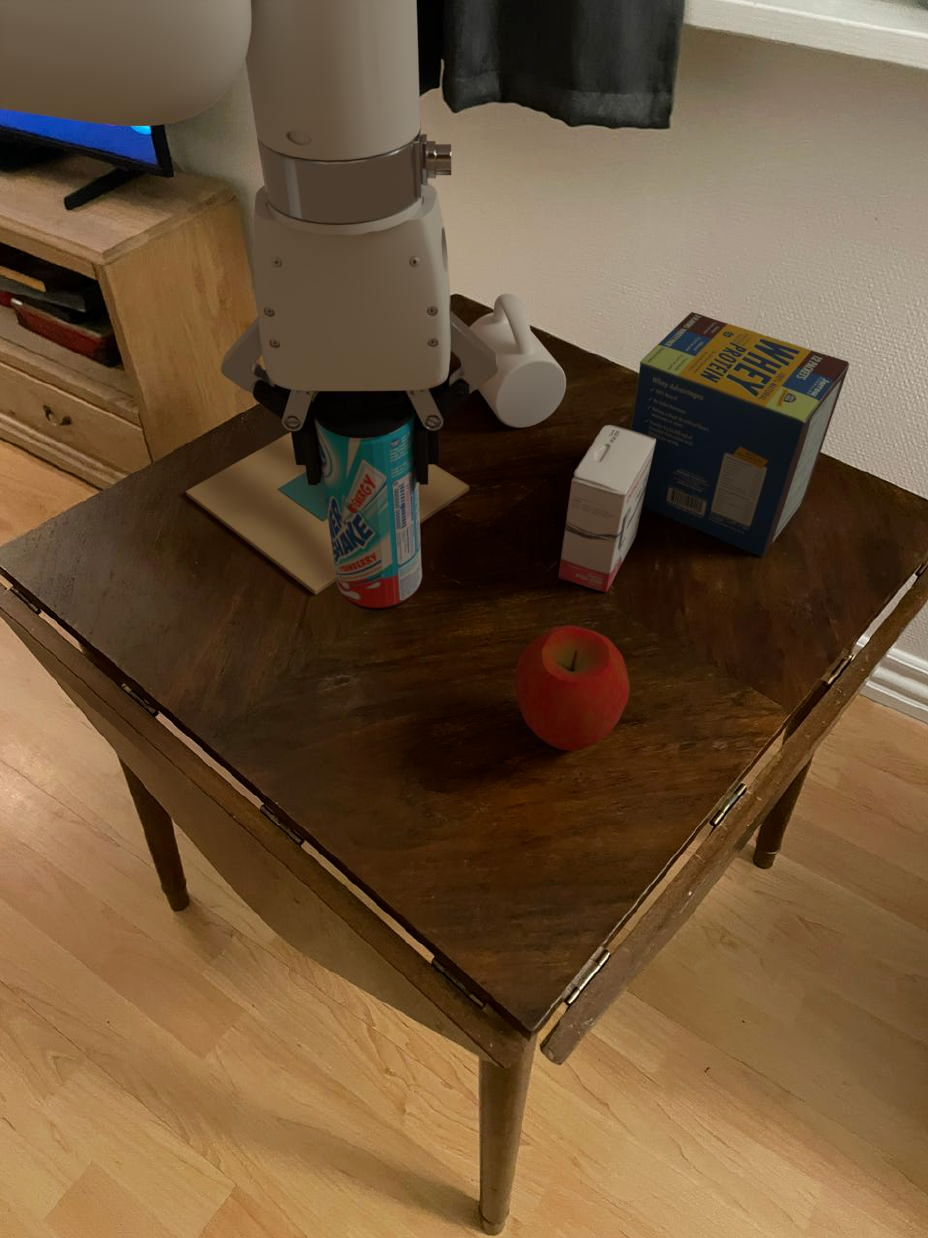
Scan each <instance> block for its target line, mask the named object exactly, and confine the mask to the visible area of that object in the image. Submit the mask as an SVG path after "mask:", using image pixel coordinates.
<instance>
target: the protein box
mask: <svg viewBox="0 0 928 1238" xmlns="http://www.w3.org/2000/svg"><path fill="white" fill-rule="evenodd" d="M849 368H850V362H849V361H848V360H844V359H841V358H839V357H835V356H832V355H829V354H825V353H822V352H818V351H815V350H812V349H810V348H806V347H803V346H799V345H797V344H794V343H791V342H787V341H785V340H781V339H779V338H778V339H777V338H774V337H771V336H769V335H765V334H762V333H760V332H757V331H754V330H750V329H746V328H743V327H740V326H738V325H734V324H731V323H728V322H724V321H720V320H717V319H714V318H712V317H709V316H706V315H703V314H700V313H697V312H694V311H691V312H690V313H689V314H687V315H686V317H685V318H684V319H683V320H682V321H680V322H679V323H678V324H677V325H676V327H674V328H673V329H672V330H671V331H670V332H669V333H668V334H667V335H666V336H665V337H664V338H663V339H662V340H661V341H660V342H658V344H657V345H655V347H654V348H653V349H651V351H650V352H648V353H647V354H646V355H645V356H644V357H643V358H642V359H641V360H640V361H639V370H638V377H637V383H636V391H635V398H634V403H633V404H634V405H633V412H632V418H631V425H630V430H631V431H635V432H638V433H641V434H644V435H647V436H650V437H653V438H655V439H656V443H655V447H654V452H653V456H652V461H651V466H650V471H649V475H648V480H647V485H646V489H645V494H644V499H643V503H642V508H645V509H647V510H650V511H652V512H654V513H657V514H659V515H661V516H664V517H666V518H669V519H671V520H673V521H676V522H678V523H680V524H684V525H685V526H687V527H689V528H692V529H694V530H696V531H699V532H701V533H703V534H706V535H708V536H711V537H713V538H716V539H718V540H720V541H723V542H724V543H727V544H729V545H732V546H734V547H737V548H739V549H741V550H744V551H746V552H748V553H750V554H753V555H755V556H757V557H761V558H762V557H764V556H765V555H766V554H767V552H768V551H769V550H770V548H771V546H772V545H773V544H774V542H775V541H776V540H777V539H778V537H779V536H780V535H781V533H782V532H783V530H784V529H785V528H786V526H787V525H788V523H789V522H790V520H791V519H792V518H793V516H795V513H797V511H798V509H799V508H800V507H801V505H802V504H803V502H804V501H805V500H806V497H807V495H808V492H809V489H810V485H811V482H812V479H813V476H814V473H815V469H816V467H817V464H818V460H819V458H820V455H821V451H822V449H823V445H824V443H825V439H826V436H827V433H828V430H829V428H830V424H831V420H832V419H833V415H834V412H835V409H836V406H837V403H838V401H839V398H840V394H841V391H842V388H843V386H844V384H845V383H844V382H845V379H846V376H847V375H848V371H849Z"/></svg>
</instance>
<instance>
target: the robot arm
mask: <svg viewBox="0 0 928 1238" xmlns="http://www.w3.org/2000/svg"><path fill="white" fill-rule="evenodd" d="M417 5H418V4H417V0H0V110H5V111H11V112H18V113H22V114H23V113H25V114H30V115H38V116H44V117H51V118H57V119H64V120H71V121H77V122H84V123H89V124H90V123H91V124H98V125H99V124H100V125H109V126H117V127H118V126H119V127H121V126H122V127H153V126H161V125H168V124H175V123H178V122H180V121H181V122H182V121H184V120H187V119H190V118H194V117H195V116H197V115H199V114H201V113H203V112H204V111H206V110H208V109H209V108H211V107H212V106H214V105H215V104H216V103H217V102H218V101H219V100H220V99H221V98H222V97H223V96H224V95H226V93H228V91H229V90H230V88H231V87H232V85H233V83H235V81H236V79H237V77H238V76H239V75H240V73H241V70H242V67H243V65H244V62H245V65H246V72H247V80H248V85H249V92H250V99H251V105H252V112H253V119H254V126H255V131H256V137H257V138H256V139H257V147H258V152H259V159H260V165H261V171H262V177H263V185H262V186H261V187H260V188H259V189H258V190H257V192H256V193H255V198H254V212H253V268H254V269H253V271H254V282H255V297H256V308H257V317H256V318H255V319H254V320H253V321H252V322H251V323H250V324H249V326H248V327H247V328H246V329H245V330H244V332H242V334H241V335H240V336H239V337H238V338H237V339H236V340H235V342H234V343H233V344H232V345H231V347H229V349H227V351H226V352H225V354H224V356H223V358H222V362H221V365H220V373H221V374H222V375H223V377H225V378H227V379H228V380H230V381H231V382H232V383H234V384H235V385H237V386H238V387H239V388H241V389H243V390H244V391H245V392H249V393H251V394H252V397H253V398H254V400H255V401H256V402H257V403H259V405H261V406H263V407H264V408H265V409H267V410H268V411H270V412H271V413H273V414H274V415H275V416H277V417H278V418H279V419H281V424H282V426H283V427H284V429H286V430H287V431H289V432H291V436H292V442H293V448H294V454H295V460H296V465H305V467H306V473H307V480H308V485H318V483H321V477H322V472H321V465H320V457H319V450H318V442H317V434H316V426H315V417H314V413H313V401H312V399H313V397H314V393H315V392H319V391H406V392H407V394H408V396H409V398H410V400H411V402H412V404H413V406H414V408H415V427H414V440H415V462H416V482H420V485H428V468H429V465H436V466H437V465H440V464H441V463H440V461H441V460H440V459H441V457H440V455H441V454H440V429H441V428H442V427H443V425H444V420H445V419H446V418H448V417H449V416H450V415H451V414H452V413H454V412H455V411H456V410H457V409H459V408H460V407H461V406H462V405H463V404H464V403H465V402H466V401H468V399H469V398H470V395H471V394H472V393H474V391H477V390H478V388H480V387H481V386H482V385H483V384H484V383H486V382H487V381H488V380H489V379H491V378H492V377H493V376H494V375H495V374H496V373H497V371H498V364H497V355H496V353H495V352H494V351H493V350H492V349H491V348H490V347H489V346H488V345H487V344H486V343H485V342H483V341H482V340H481V339H480V338H479V337H478V336H477V335H476V334H475V333H474V332H473V331H472V330H471V329H470V328H469V327H470V326H468V325H467V324H466V323H465V322H463V321H462V320H461V319H460V318H459V317H458V316H457V315H456V314H455V313H454V312H453V311H452V308H451V305H452V304H451V303H452V302H451V288H450V287H451V286H450V274H449V270H450V269H449V256H448V245H447V237H446V230H445V225H444V220H443V219H444V218H443V214H442V208H441V204H440V199H439V196H438V191H437V189H436V187H435V186H434V185H432V184H430V183H429V181H428V180H429V179H437V176H452V144H451V143H447V144H446V143H443V144H442V143H438V144H437V143H436V140H428V134H427V133H426V134H425V133H422V126H421V125H422V123H421V105H420V101H421V100H420V73H419V71H420V69H419V40H418V39H419V37H418V36H419V35H418V9H417ZM451 353H453V354H454V356H456V357H457V358H458V359H459V361H460V360H462V361H463V362H464V364H462V365H460V367H459V368H456V369H453V370H452V371H451V372H450V362H451ZM261 356H262V359H263V364H264V368H265V369H264V368H263V366H262V365H261V364H259V363H258V362H257V361H258V359H259V358H260V357H261Z"/></svg>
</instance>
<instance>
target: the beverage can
mask: <svg viewBox="0 0 928 1238" xmlns="http://www.w3.org/2000/svg"><path fill="white" fill-rule="evenodd" d="M312 402H313V413H314V417H315V426H316V434H317V442H318V450H319V457H320V465H321V472H322V480H323V487H324V494H325V501H326V508H327V515H328V523H329V530H330V537H331V544H332V551H333V558H334V565H335V572H336V581H335V582H336V585H337V587H338V589H339V591H340V593H341V595H342V596H343V597H344V598H345V600H346V601H348V602H349V603H350V604H352V605H353V606H356V607H357V608H359V609H362V610H366V611H372V612H381V611H390V610H392V609H396V608H398V607H401V606H403V605H405V604H406V603H407V602H409V601H410V600H411V599H412V598H413V597H414V596H415V595H416V594H417V592H418V590H419V588H420V586H421V582H422V578H423V568H422V547H421V523H420V515H419V488H418V482H416V462H415V440H414V427H415V408H414V406H413V404H412V402H411V400H410V398H409V396H408V394H407V392H406V391H317V394H316V395H315V397H314V398H313V401H312Z"/></svg>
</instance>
